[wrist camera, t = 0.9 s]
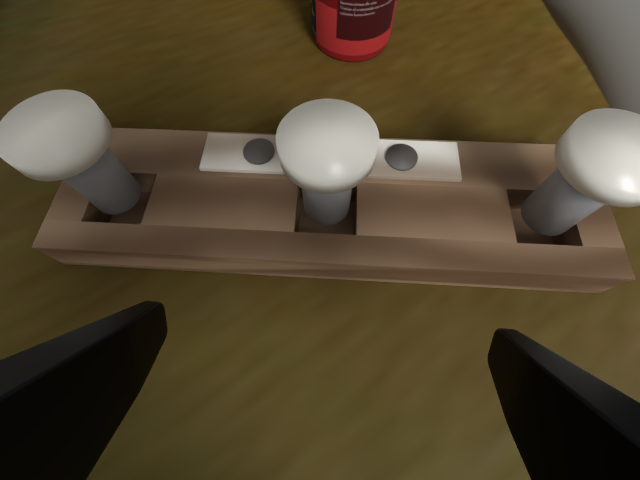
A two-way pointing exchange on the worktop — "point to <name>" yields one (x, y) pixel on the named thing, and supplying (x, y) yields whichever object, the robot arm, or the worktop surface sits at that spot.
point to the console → (345, 236)
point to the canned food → (352, 27)
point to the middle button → (327, 154)
